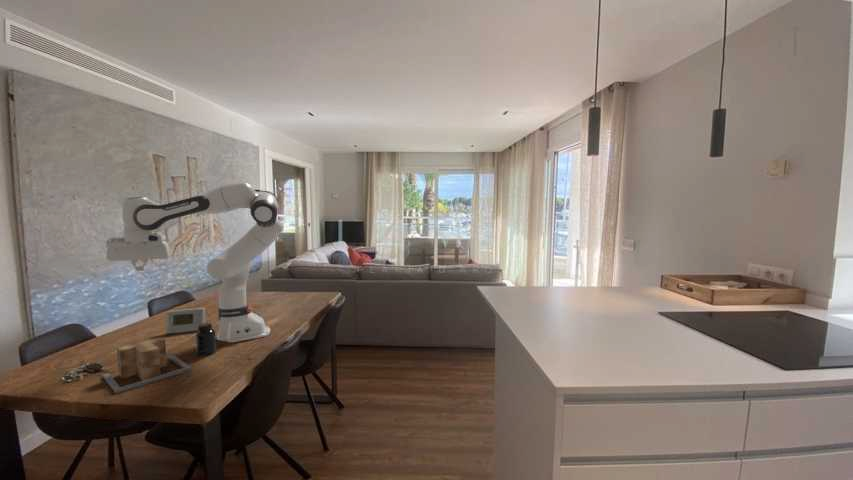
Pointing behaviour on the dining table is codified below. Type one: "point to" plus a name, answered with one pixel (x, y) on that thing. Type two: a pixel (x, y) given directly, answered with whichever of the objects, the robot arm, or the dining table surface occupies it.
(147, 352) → the notched wooden block
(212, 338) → the supplement bottle
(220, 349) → the dining table surface
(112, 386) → the frame
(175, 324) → the digital clock
